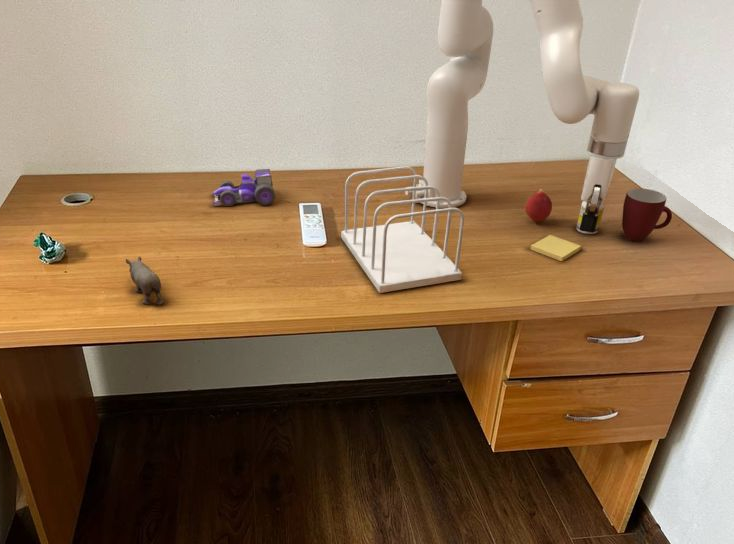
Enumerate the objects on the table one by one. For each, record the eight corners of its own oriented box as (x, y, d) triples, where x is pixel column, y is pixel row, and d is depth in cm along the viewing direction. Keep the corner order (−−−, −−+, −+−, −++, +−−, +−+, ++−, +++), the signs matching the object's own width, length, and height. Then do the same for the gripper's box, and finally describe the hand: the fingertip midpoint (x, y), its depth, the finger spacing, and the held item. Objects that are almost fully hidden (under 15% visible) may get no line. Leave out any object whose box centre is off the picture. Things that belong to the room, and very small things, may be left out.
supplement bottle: (599, 228, 152) (608, 193, 147) (596, 236, 148) (605, 200, 143) (577, 224, 153) (585, 189, 149) (574, 232, 150) (582, 196, 145)
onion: (549, 219, 156) (556, 186, 151) (547, 229, 151) (554, 195, 147) (524, 215, 157) (530, 183, 153) (521, 225, 153) (527, 192, 148)
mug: (654, 229, 151) (667, 187, 145) (671, 245, 145) (685, 202, 139) (609, 230, 151) (620, 188, 145) (623, 246, 144) (635, 203, 138)
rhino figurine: (143, 273, 134) (138, 246, 130) (168, 303, 124) (163, 275, 121) (123, 278, 132) (117, 251, 128) (146, 309, 122) (141, 281, 119)
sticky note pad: (561, 261, 138) (562, 257, 138) (530, 249, 143) (530, 245, 142) (580, 250, 143) (581, 245, 142) (549, 238, 147) (549, 234, 147)
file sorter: (340, 238, 147) (341, 170, 138) (413, 228, 151) (418, 161, 142) (379, 294, 127) (382, 218, 118) (461, 281, 132) (471, 207, 122)
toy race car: (212, 193, 167) (210, 168, 163) (272, 190, 169) (270, 165, 166) (213, 209, 160) (210, 183, 156) (275, 205, 162) (274, 179, 158)
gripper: (590, 132, 147) (574, 207, 158) (585, 157, 134) (567, 237, 145) (626, 136, 145) (607, 211, 156) (624, 162, 132) (603, 242, 142)
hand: (588, 223), depth 150 cm, fingers open, 7 cm apart
